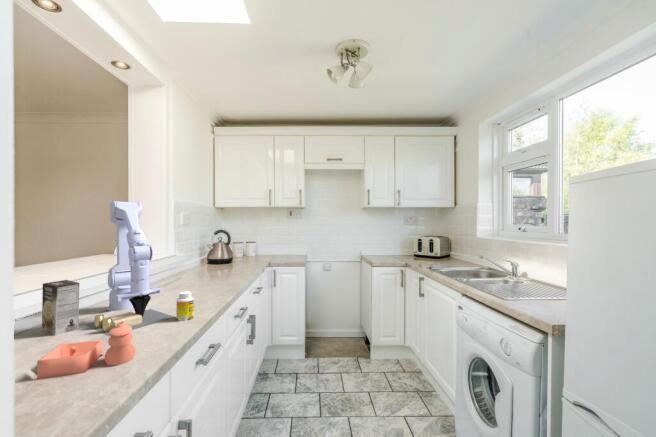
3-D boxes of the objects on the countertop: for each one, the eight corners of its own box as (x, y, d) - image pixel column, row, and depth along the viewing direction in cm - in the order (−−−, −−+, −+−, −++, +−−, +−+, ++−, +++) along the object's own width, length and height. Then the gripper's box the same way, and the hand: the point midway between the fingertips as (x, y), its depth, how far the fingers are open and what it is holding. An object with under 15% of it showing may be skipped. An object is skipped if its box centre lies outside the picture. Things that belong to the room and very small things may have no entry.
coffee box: (40, 333, 92) (41, 283, 93) (65, 326, 98) (66, 279, 98) (55, 338, 89) (55, 286, 89) (80, 331, 94) (80, 282, 94)
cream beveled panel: (104, 325, 97) (104, 318, 97) (130, 318, 104) (130, 311, 104) (115, 330, 93) (115, 322, 93) (141, 323, 100) (142, 315, 100)
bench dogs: (93, 328, 95) (93, 316, 95) (101, 325, 97) (101, 314, 97) (104, 333, 90) (104, 320, 90) (113, 331, 92) (113, 318, 92)
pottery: (37, 379, 66) (37, 336, 66) (60, 360, 75) (61, 322, 75) (128, 367, 72) (129, 327, 72) (140, 351, 81) (140, 315, 81)
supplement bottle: (190, 322, 102) (190, 294, 103) (173, 323, 102) (174, 294, 102) (195, 317, 108) (195, 290, 108) (179, 318, 107) (180, 290, 107)
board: (85, 327, 98) (85, 324, 98) (150, 310, 116) (150, 309, 116) (109, 338, 88) (109, 336, 88) (176, 319, 106) (176, 317, 106)
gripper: (122, 284, 95) (121, 325, 95) (166, 276, 107) (166, 313, 107) (112, 281, 98) (112, 321, 98) (156, 274, 111) (156, 310, 111)
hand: (139, 317), depth 103 cm, fingers closed
